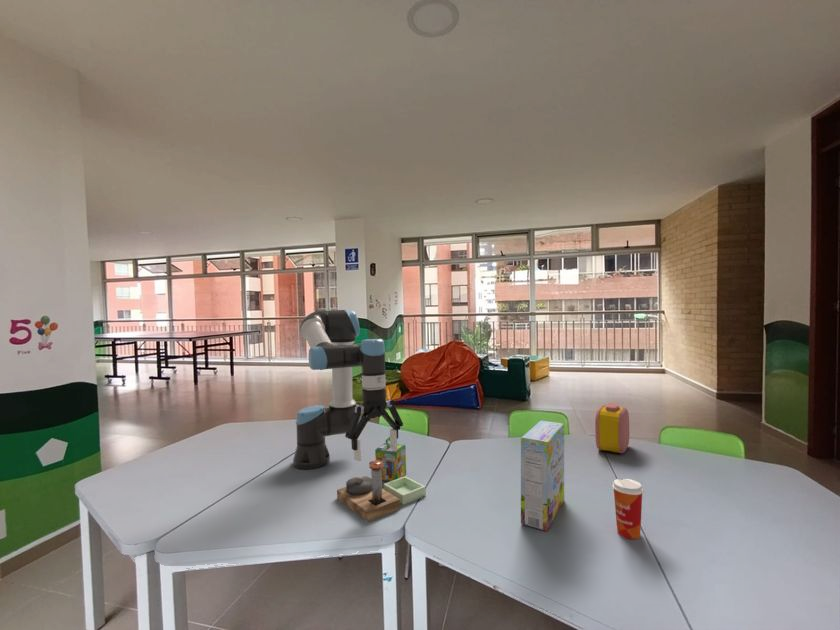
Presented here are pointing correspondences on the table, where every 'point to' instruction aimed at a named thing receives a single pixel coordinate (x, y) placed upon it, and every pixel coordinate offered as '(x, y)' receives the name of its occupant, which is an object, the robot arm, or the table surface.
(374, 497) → the lock pin
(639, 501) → the paper cup
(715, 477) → the table surface
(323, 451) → the robot arm
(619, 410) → the pink and yellow case
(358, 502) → the block
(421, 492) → the tray
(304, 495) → the table surface
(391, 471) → the chalk box
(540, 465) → the snack box
